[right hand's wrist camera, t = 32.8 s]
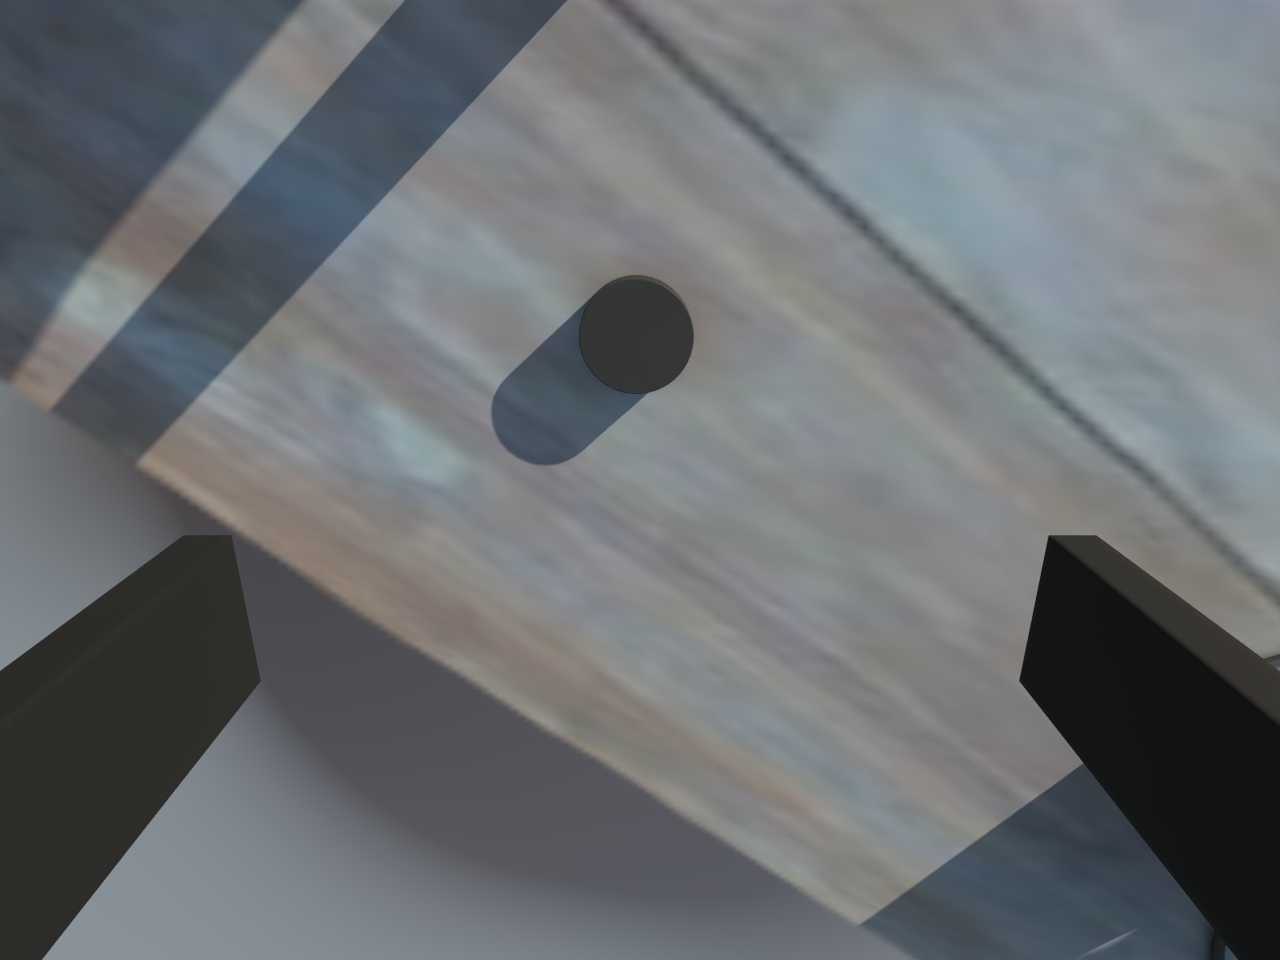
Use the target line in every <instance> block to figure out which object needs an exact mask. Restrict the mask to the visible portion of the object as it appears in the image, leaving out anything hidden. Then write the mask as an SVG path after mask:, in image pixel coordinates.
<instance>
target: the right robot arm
mask: <svg viewBox="0 0 1280 960" xmlns="http://www.w3.org/2000/svg"><path fill="white" fill-rule="evenodd" d="M260 681H261V680H260V675H259V670H258V665H257V660H256V655H255V651H254V646H253V641H252V636H251V631H250V626H249V621H248V616H247V611H246V606H245V601H244V596H243V591H242V586H241V581H240V576H239V571H238V566H237V561H236V556H235V551H234V546H233V542H232V537H231V535H224V536H223V535H198V536H197V535H184V536H182V537H181V538H180V539H178V540H177V541H175V542H174V543H173V544H171V545H170V546H169V547H167V548H166V549H165V550H163V551H162V552H161V553H159V554H158V555H157V556H155V557H154V558H152V559H151V560H150V561H148V562H147V563H146V564H144V565H143V566H142V567H140V568H139V569H138V570H136V571H135V572H134V573H132V574H131V575H129V576H128V577H127V578H125V579H124V580H123V581H121V582H120V583H119V584H117V585H116V586H115V587H113V588H112V589H111V590H109V591H108V592H106V593H105V594H104V595H102V596H101V597H100V598H98V599H97V600H96V601H94V602H93V603H92V604H90V605H89V606H88V607H86V608H85V609H83V610H82V611H81V612H79V613H78V614H77V615H75V616H74V617H73V618H71V619H70V620H69V621H67V622H66V623H65V624H63V625H62V626H61V627H59V628H58V629H57V630H55V631H54V632H52V633H51V634H50V635H48V636H47V637H46V638H44V639H43V640H42V641H40V642H39V643H38V644H36V645H35V646H34V647H32V648H31V649H29V650H28V651H27V652H25V653H24V654H23V655H21V656H20V657H19V658H17V659H16V660H15V661H13V662H12V663H11V664H9V665H8V666H6V667H5V668H4V669H2V670H1V671H0V960H42V959H43V958H44V956H45V955H46V954H47V952H48V951H49V950H50V949H51V947H52V946H53V945H54V944H55V942H56V941H57V940H58V938H59V937H60V936H61V935H62V933H63V932H64V931H65V930H66V928H67V927H68V926H69V924H70V923H71V922H72V921H73V919H74V918H75V917H76V915H77V914H78V913H79V912H80V910H81V909H82V908H83V907H84V905H85V904H86V903H87V902H88V900H89V899H90V898H91V896H92V895H93V894H94V893H95V891H96V890H97V889H98V888H99V886H100V885H101V884H102V882H103V881H104V880H105V879H106V877H107V876H108V875H109V873H110V872H111V871H112V870H113V868H114V867H115V866H116V865H117V863H118V862H119V861H120V860H121V858H122V857H123V856H124V854H125V853H126V852H127V851H128V849H129V848H130V847H131V846H132V844H133V843H134V842H135V840H136V839H137V838H138V837H139V835H140V834H141V833H142V832H143V830H144V829H145V828H146V826H147V825H148V824H149V823H150V821H151V820H152V819H153V817H154V816H155V815H156V814H157V812H158V811H159V810H160V809H161V807H162V806H163V805H164V803H165V802H166V801H167V800H168V798H169V797H170V796H171V794H172V793H173V792H174V791H175V789H176V788H177V787H178V786H179V784H180V783H181V782H182V781H183V779H184V778H185V777H186V775H187V774H188V773H189V772H190V770H191V769H192V768H193V767H194V765H195V764H196V763H197V761H198V760H199V759H200V758H201V756H202V755H203V754H204V752H205V751H206V750H207V749H208V747H209V746H210V745H211V744H212V742H213V741H214V740H215V739H216V737H217V736H218V735H219V733H220V732H221V731H222V730H223V728H224V727H225V726H226V725H227V723H228V722H229V721H230V719H231V718H232V717H233V716H234V714H235V713H236V712H237V711H238V709H239V708H240V707H241V705H242V704H243V703H244V702H245V700H246V699H247V698H248V697H249V695H250V694H251V693H252V691H253V690H254V689H255V688H256V686H257V685H258V684H259V683H260ZM1019 681H1020V683H1021V684H1022V685H1023V686H1024V688H1025V689H1026V690H1027V691H1028V693H1029V694H1030V695H1031V697H1032V698H1033V699H1034V700H1035V702H1036V703H1037V704H1038V705H1039V707H1040V708H1041V709H1042V711H1043V712H1044V713H1045V714H1046V716H1047V717H1048V718H1049V719H1050V721H1051V722H1052V723H1053V725H1054V726H1055V727H1056V728H1057V730H1058V731H1059V732H1060V733H1061V735H1062V736H1063V737H1064V739H1065V740H1066V741H1067V742H1068V744H1069V745H1070V746H1071V747H1072V749H1073V750H1074V751H1075V753H1076V754H1077V755H1078V756H1079V758H1080V759H1081V760H1082V761H1083V763H1084V764H1085V765H1086V767H1087V768H1088V769H1089V770H1090V772H1091V773H1092V774H1093V775H1094V777H1095V778H1096V779H1097V781H1098V782H1099V783H1100V784H1101V786H1102V787H1103V788H1104V789H1105V791H1106V792H1107V793H1108V795H1109V796H1110V797H1111V798H1112V800H1113V801H1114V802H1115V803H1116V805H1117V806H1118V807H1119V809H1120V810H1121V811H1122V812H1123V814H1124V815H1125V816H1126V817H1127V819H1128V820H1129V821H1130V823H1131V824H1132V825H1133V826H1134V828H1135V829H1136V830H1137V832H1138V833H1139V834H1140V835H1141V837H1142V838H1143V839H1144V840H1145V842H1146V843H1147V844H1148V846H1149V847H1150V848H1151V849H1152V851H1153V852H1154V853H1155V854H1156V856H1157V857H1158V858H1159V860H1160V861H1161V862H1162V863H1163V865H1164V866H1165V867H1166V868H1167V870H1168V871H1169V872H1170V874H1171V875H1172V876H1173V877H1174V879H1175V880H1176V881H1177V882H1178V884H1179V885H1180V886H1181V888H1182V889H1183V890H1184V891H1185V893H1186V894H1187V895H1188V896H1189V898H1190V899H1191V900H1192V902H1193V903H1194V904H1195V905H1196V907H1197V908H1198V909H1199V910H1200V912H1201V913H1202V914H1203V916H1204V917H1205V918H1206V919H1207V921H1208V922H1209V923H1210V924H1211V926H1212V927H1213V928H1214V930H1215V933H1214V935H1213V939H1212V943H1211V960H1224V953H1225V947H1226V945H1227V946H1228V947H1229V949H1230V950H1231V951H1232V952H1233V954H1234V955H1235V956H1236V958H1237V959H1238V960H1280V654H1279V655H1275V656H1272V657H1268V658H1266V659H1263V658H1261V657H1260V656H1259V655H1257V654H1256V653H1255V652H1253V651H1252V650H1251V649H1249V648H1248V647H1247V646H1245V645H1244V644H1243V643H1241V642H1240V641H1238V640H1237V639H1236V638H1234V637H1233V636H1232V635H1230V634H1229V633H1228V632H1226V631H1225V630H1224V629H1222V628H1221V627H1220V626H1218V625H1217V624H1215V623H1214V622H1213V621H1211V620H1210V619H1209V618H1207V617H1206V616H1205V615H1203V614H1202V613H1201V612H1199V611H1198V610H1197V609H1195V608H1194V607H1192V606H1191V605H1190V604H1188V603H1187V602H1186V601H1184V600H1183V599H1182V598H1180V597H1179V596H1178V595H1176V594H1175V593H1174V592H1172V591H1171V590H1169V589H1168V588H1167V587H1165V586H1164V585H1163V584H1161V583H1160V582H1159V581H1157V580H1156V579H1155V578H1153V577H1152V576H1151V575H1149V574H1148V573H1146V572H1145V571H1144V570H1142V569H1141V568H1140V567H1138V566H1137V565H1136V564H1134V563H1133V562H1132V561H1130V560H1129V559H1128V558H1126V557H1125V556H1123V555H1122V554H1121V553H1119V552H1118V551H1117V550H1115V549H1114V548H1113V547H1111V546H1110V545H1109V544H1107V543H1106V542H1105V541H1103V540H1102V539H1100V538H1099V537H1098V536H1096V535H1049V536H1048V541H1047V546H1046V551H1045V556H1044V561H1043V566H1042V571H1041V576H1040V581H1039V586H1038V591H1037V596H1036V601H1035V606H1034V611H1033V616H1032V621H1031V626H1030V631H1029V636H1028V641H1027V646H1026V651H1025V655H1024V660H1023V665H1022V670H1021V675H1020V680H1019Z"/></svg>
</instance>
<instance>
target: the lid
mask: <svg viewBox="0 0 1280 960" xmlns="http://www.w3.org/2000/svg"><path fill="white" fill-rule="evenodd" d="M693 342H694V332H693V325H692V321H691V318H690V315H689V312H688V310H687V308H686V306H685V304H684V302H683V300H682V299H681V298H680V296H679V295H678V294H677V293H676V292H675V291H674V290H673V289H672V288H671V287H670V286H668V285H667V284H665V283H664V282H662V281H660V280H657V279H655V278H652V277H648V276H641V275H632V276H625V277H621V278H618V279H616V280H613V281H611V282H610V283H608V284H606V285H605V286H603V287H602V288H601V289H600V290H599V291H598V292H597V293H596V294H595V295H594V296H593V298H592V299H591V300H590V302H589V304H588V306H587V308H586V310H585V312H584V314H583V317H582V320H581V324H580V331H579V343H580V349H581V352H582V356H583V358H584V360H585V363H586V364H587V366H588V368H589V369H590V371H591V372H592V373H593V374H594V375H595V376H596V377H597V378H598V379H599V380H600V381H601V382H603V383H604V384H605V385H607V386H609V387H611V388H613V389H615V390H618V391H621V392H625V393H631V394H642V393H649V392H652V391H656V390H658V389H660V388H663V387H664V386H666V385H668V384H669V383H670V382H672V381H673V380H674V379H675V378H676V377H677V376H678V375H679V374H680V373H681V372H682V370H683V369H684V368H685V366H686V364H687V363H688V360H689V358H690V355H691V352H692V348H693Z"/></svg>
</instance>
